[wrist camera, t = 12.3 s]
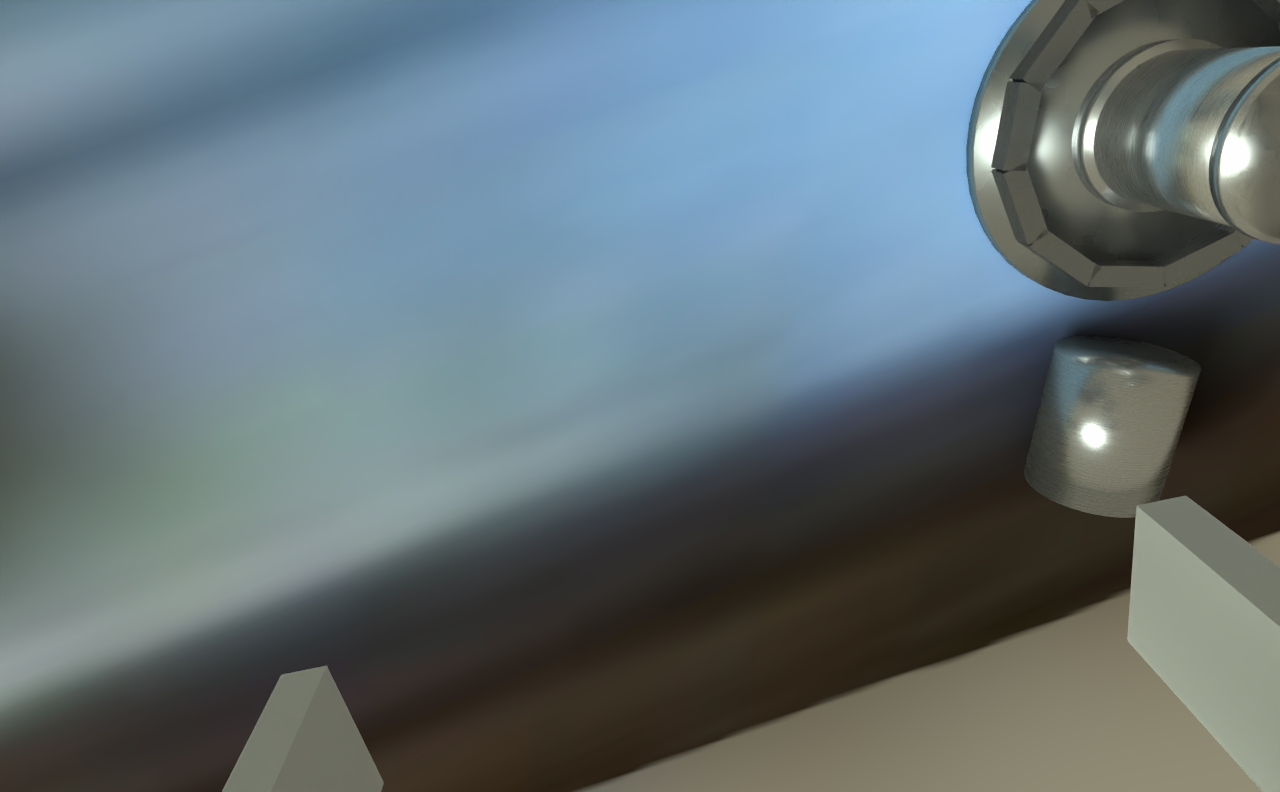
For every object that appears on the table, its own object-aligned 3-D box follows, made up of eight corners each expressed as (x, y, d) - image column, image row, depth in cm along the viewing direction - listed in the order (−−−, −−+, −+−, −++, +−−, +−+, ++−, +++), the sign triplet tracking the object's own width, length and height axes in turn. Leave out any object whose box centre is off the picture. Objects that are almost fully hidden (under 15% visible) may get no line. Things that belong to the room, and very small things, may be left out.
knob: (1041, 124, 35) (1178, 142, 26) (1185, 1, 33) (1379, -22, 25) (1121, 240, 37) (1270, 290, 29) (1260, 130, 35) (1461, 149, 27)
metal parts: (1004, -81, 32) (1091, -112, 27) (1373, -68, 33) (1533, -97, 27) (910, 456, 42) (958, 518, 36) (1196, 456, 43) (1287, 516, 37)
